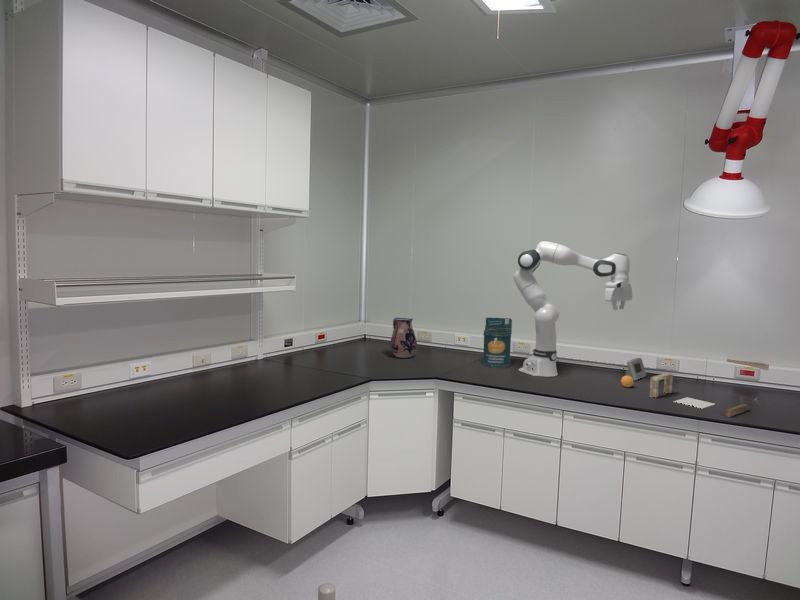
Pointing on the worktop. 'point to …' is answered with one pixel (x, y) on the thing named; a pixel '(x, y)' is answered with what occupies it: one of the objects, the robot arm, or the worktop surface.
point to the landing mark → (694, 402)
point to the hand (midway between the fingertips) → (618, 309)
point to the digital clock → (635, 369)
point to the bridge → (655, 383)
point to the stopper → (736, 410)
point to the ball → (627, 381)
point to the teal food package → (497, 342)
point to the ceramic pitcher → (403, 338)
